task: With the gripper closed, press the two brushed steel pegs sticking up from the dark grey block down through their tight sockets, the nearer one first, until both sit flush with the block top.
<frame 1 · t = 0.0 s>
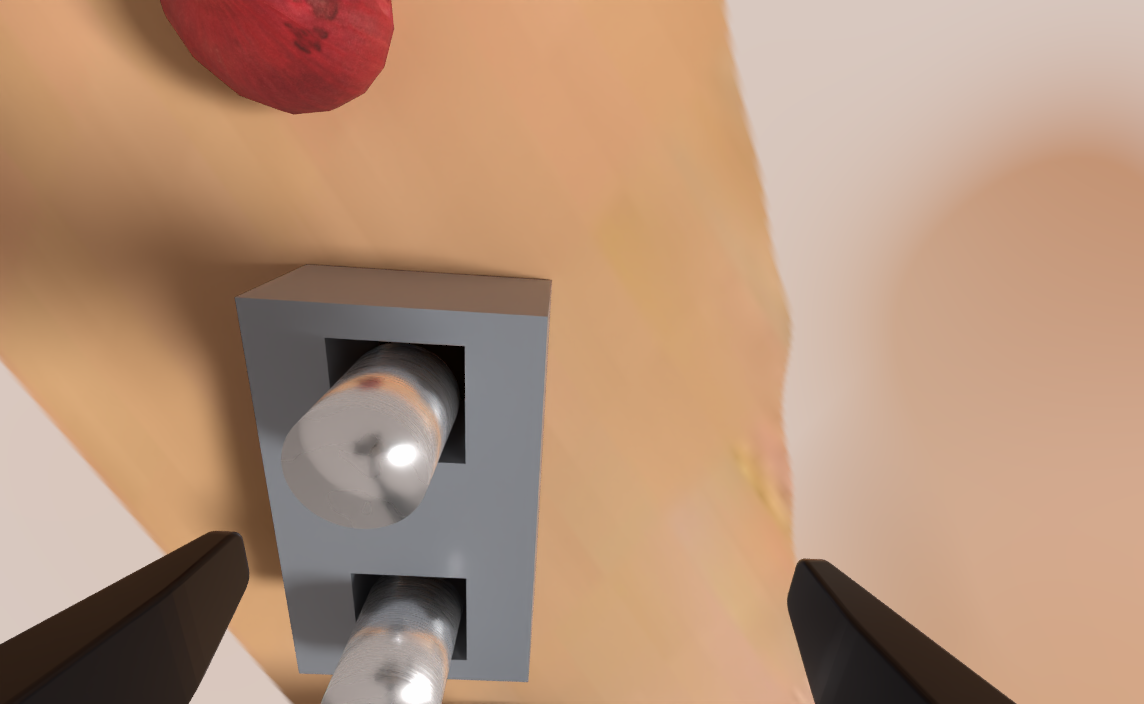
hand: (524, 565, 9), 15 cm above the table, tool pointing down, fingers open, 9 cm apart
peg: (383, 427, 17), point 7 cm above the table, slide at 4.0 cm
onion: (339, 29, 19), on the table
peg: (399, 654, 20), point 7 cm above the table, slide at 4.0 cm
socket block: (435, 450, 25), on the table
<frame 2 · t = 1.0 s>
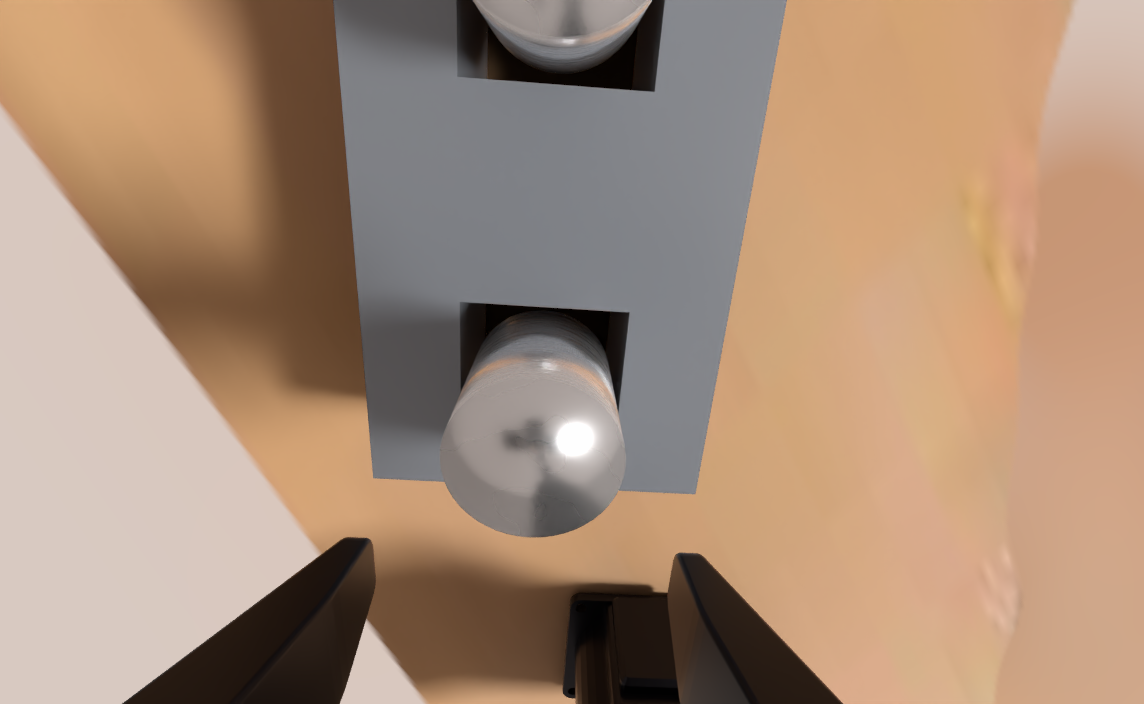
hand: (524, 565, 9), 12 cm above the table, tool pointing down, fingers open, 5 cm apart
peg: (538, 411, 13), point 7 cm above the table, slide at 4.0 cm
socket block: (554, 188, 18), on the table
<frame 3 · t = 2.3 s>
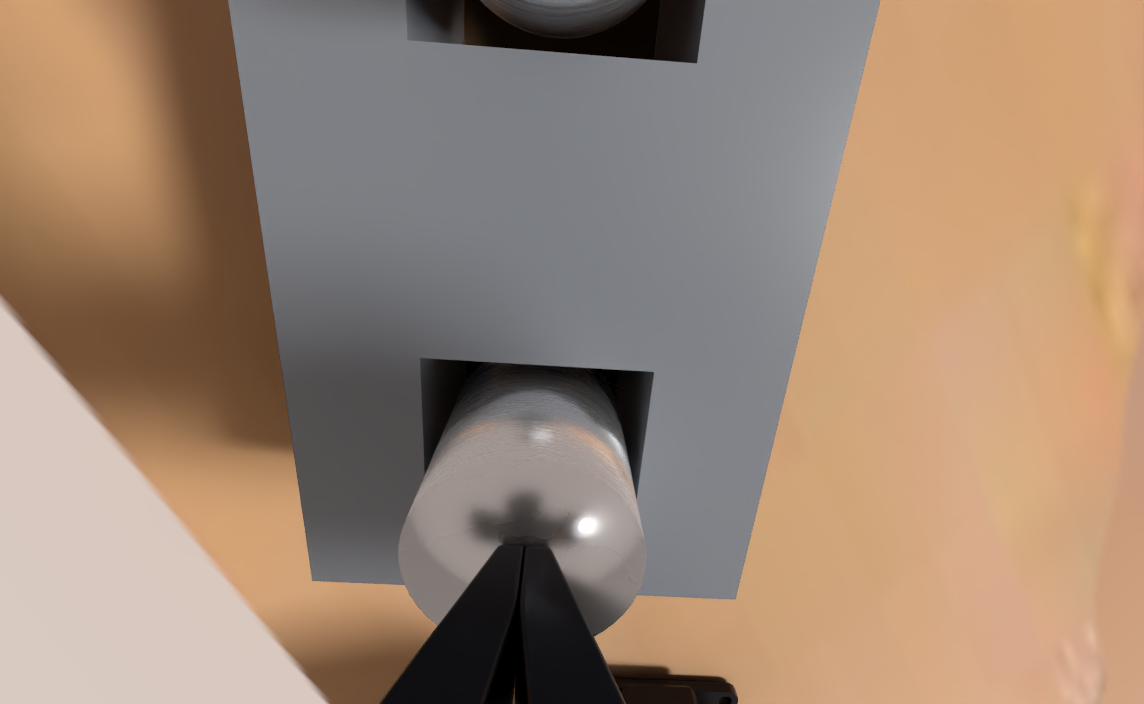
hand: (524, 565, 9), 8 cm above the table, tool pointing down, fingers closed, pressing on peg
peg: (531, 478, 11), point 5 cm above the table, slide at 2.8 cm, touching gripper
socket block: (551, 198, 14), on the table
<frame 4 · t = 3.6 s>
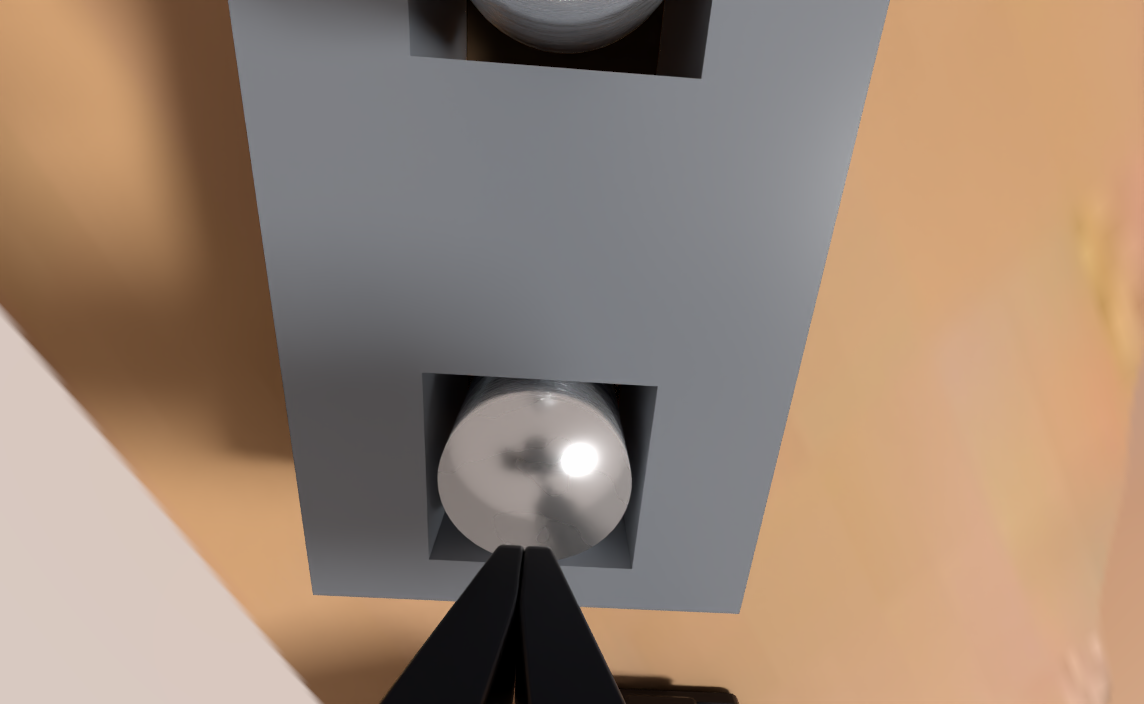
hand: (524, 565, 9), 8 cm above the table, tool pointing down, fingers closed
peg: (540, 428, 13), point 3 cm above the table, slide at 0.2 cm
socket block: (554, 209, 14), on the table
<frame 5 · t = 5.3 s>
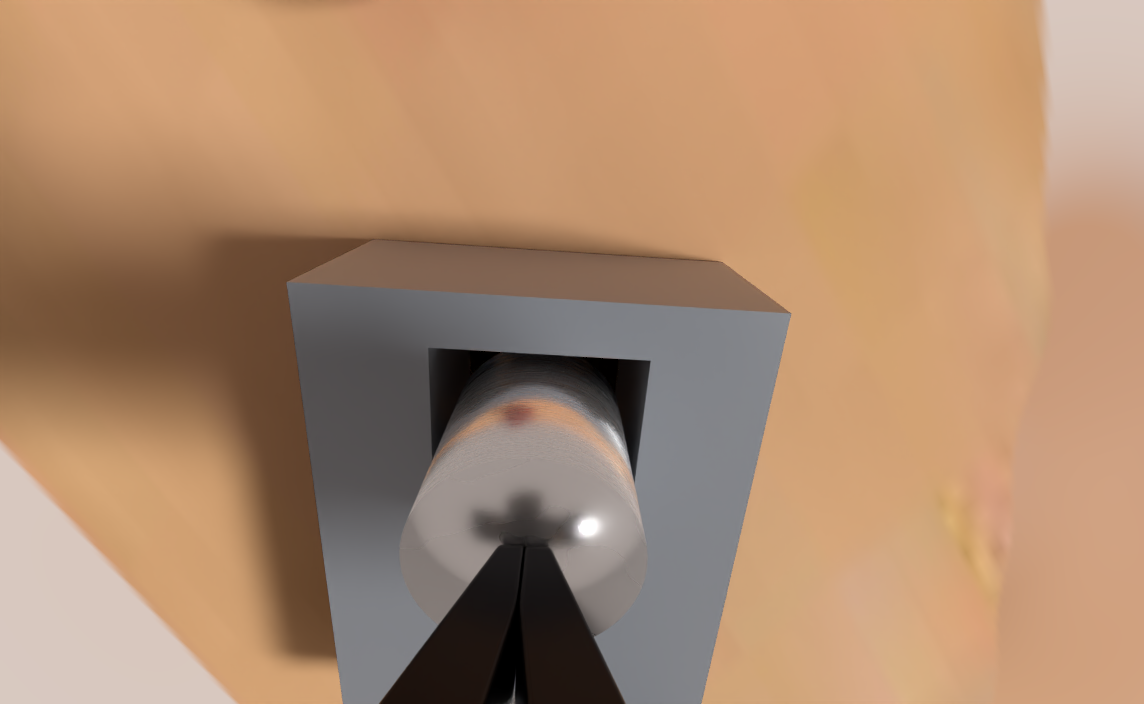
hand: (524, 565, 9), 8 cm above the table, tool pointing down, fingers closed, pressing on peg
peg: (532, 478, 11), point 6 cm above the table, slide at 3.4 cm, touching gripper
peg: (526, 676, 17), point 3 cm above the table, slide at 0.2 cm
socket block: (537, 496, 18), on the table
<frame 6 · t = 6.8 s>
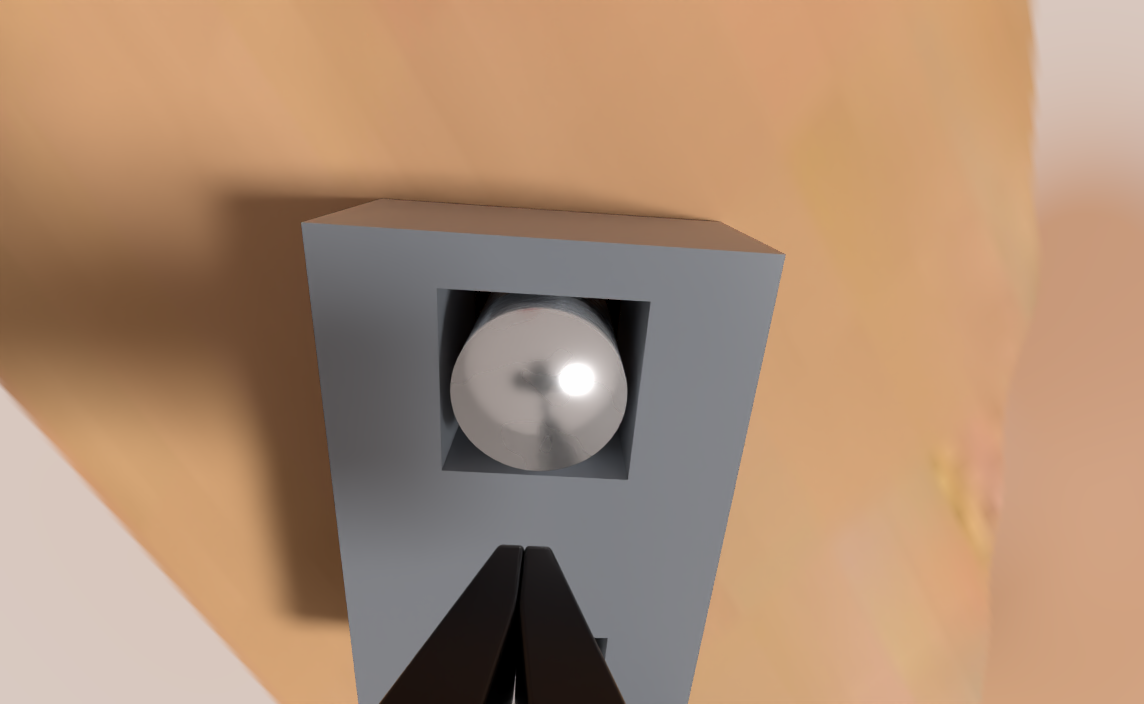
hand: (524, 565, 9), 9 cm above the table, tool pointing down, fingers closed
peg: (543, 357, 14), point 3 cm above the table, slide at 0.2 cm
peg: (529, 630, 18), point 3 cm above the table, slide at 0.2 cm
socket block: (539, 456, 19), on the table
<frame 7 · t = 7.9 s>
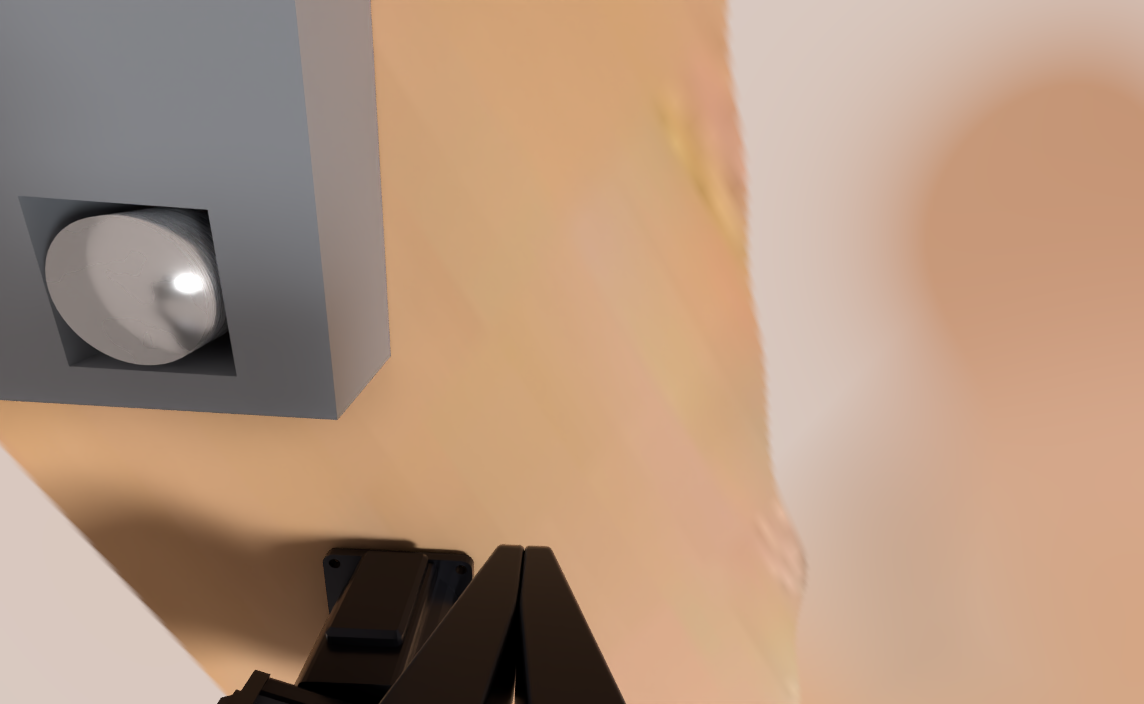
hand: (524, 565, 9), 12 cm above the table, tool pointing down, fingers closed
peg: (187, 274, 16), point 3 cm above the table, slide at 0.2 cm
socket block: (218, 99, 17), on the table
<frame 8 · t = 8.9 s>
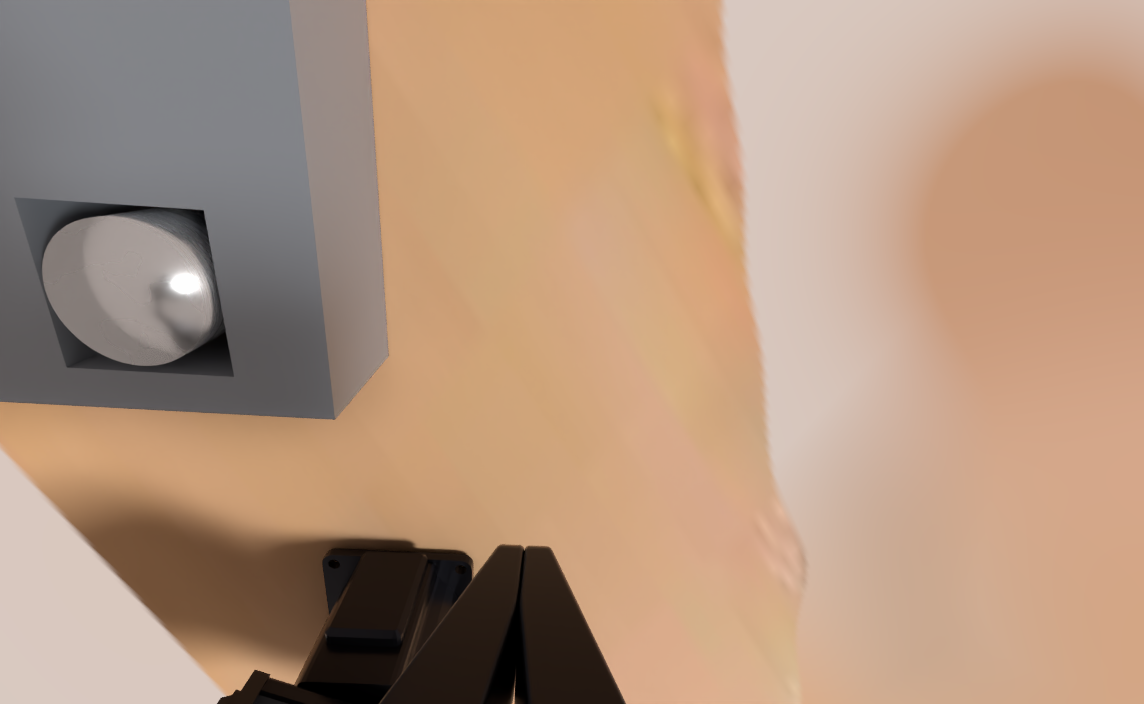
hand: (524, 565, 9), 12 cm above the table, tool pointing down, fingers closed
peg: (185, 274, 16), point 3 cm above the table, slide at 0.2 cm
socket block: (214, 100, 17), on the table
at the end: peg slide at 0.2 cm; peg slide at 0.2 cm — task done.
